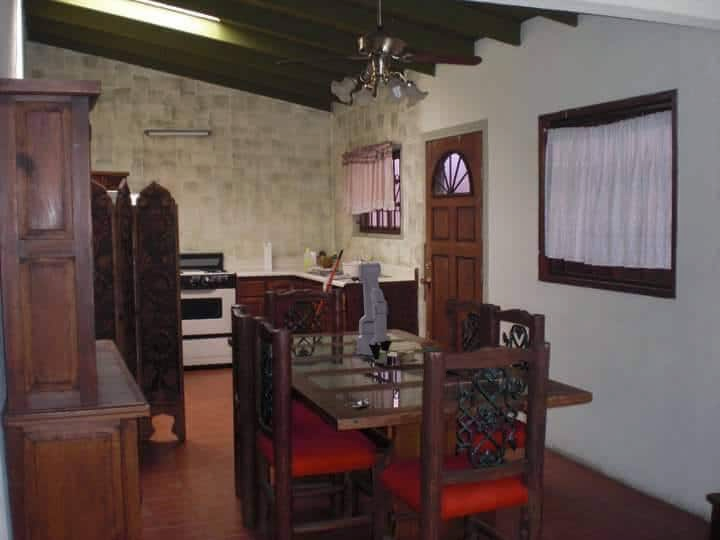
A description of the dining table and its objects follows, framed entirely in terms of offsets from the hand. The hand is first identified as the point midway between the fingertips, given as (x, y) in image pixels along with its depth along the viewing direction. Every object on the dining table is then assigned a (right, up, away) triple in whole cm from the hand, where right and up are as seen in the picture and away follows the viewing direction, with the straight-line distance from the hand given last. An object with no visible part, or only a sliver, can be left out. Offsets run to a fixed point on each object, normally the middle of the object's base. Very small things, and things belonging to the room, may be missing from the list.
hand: (380, 358), depth 357 cm
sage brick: (0, -2, 0) cm, 2 cm away
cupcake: (+24, 0, +17) cm, 29 cm away
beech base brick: (+12, -2, +6) cm, 13 cm away
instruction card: (+5, 0, +18) cm, 19 cm away
